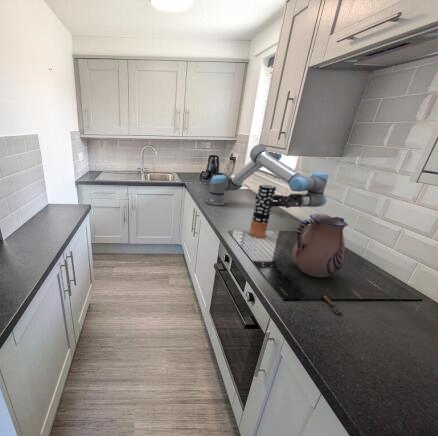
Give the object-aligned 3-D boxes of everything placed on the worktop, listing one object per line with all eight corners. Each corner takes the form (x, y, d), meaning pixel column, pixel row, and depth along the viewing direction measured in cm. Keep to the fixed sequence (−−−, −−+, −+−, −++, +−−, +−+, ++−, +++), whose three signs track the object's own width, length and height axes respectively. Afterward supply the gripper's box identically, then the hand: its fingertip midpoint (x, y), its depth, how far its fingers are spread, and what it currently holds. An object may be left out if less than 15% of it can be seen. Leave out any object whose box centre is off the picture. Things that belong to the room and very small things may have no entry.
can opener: (321, 296, 84) (322, 294, 84) (328, 297, 84) (329, 295, 84) (335, 315, 76) (337, 312, 76) (343, 316, 76) (344, 313, 75)
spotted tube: (270, 223, 129) (279, 188, 122) (256, 222, 129) (263, 188, 122) (264, 218, 137) (271, 185, 130) (250, 217, 137) (256, 184, 130)
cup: (250, 230, 142) (253, 217, 138) (265, 234, 137) (268, 220, 134) (248, 235, 135) (251, 221, 132) (263, 239, 131) (267, 224, 128)
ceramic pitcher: (347, 279, 95) (369, 224, 86) (309, 288, 89) (329, 229, 80) (307, 258, 111) (323, 209, 102) (273, 265, 105) (286, 213, 96)
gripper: (312, 213, 121) (275, 214, 118) (281, 200, 144) (249, 200, 142) (316, 199, 118) (278, 200, 116) (284, 188, 141) (252, 188, 139)
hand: (262, 200), depth 129 cm, fingers open, 13 cm apart
